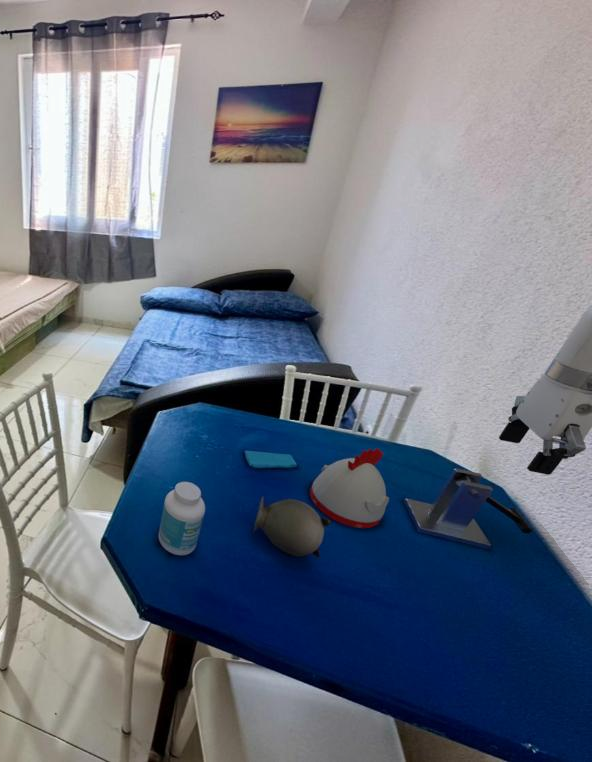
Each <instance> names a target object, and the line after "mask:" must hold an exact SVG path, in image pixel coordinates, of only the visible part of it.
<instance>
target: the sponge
mask: <svg viewBox="0 0 592 762" xmlns="http://www.w3.org/2000/svg"><path fill="white" fill-rule="evenodd" d="M244 457H245V459H246V461H247V464H248V465H249V467H251V468H254V469H275V468H276V469H290V468H291V469H292V468H296V467H297V466H298V464H297V462H296V460H295V459H294V457H293V455H292V454H288V453H282V454H281V453H275V452H267V451H266V452H263V451H254V450H244Z"/></svg>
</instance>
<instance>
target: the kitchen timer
mask: <svg viewBox="0 0 592 762" xmlns="http://www.w3.org/2000/svg"><path fill="white" fill-rule="evenodd" d="M384 455H385V453H383V452H382V451H381V449H379V447H376V448H375V449H374V450H373V449H371V448H369V449H368V450H366V449H363V451H362V452H361V454H360V456H359V455H358V454H356V455H355V457H349V458H344V459H339V460H336V461H335V462H333V463H331V464H329V465H327V464H324V466H323V467H322V468H321V472H320V473H319V474H318V476H317V477H315V479H314V481H313V482H312V484H311V487H310V489H309V490H310V491H309V496H310V498H311V499H310V500H311V501H312V503H313V504H314V506H315V507H317V509H318V510H320V511H321V512H322V513H323V514H324V515H326V516H327V517H329V519H332V520H334V521H336V522H338V523H340V524H342V525H346V526H349V527H351V528H359V529H368V528H373V527H376V526H377V525H379V524H380V522H381V520H382V518H383V517H384V514H385V512H386V508H387V506H388V504H389V501H390V497H389V496H387V490H386V489H387V488H386V484H385V481H384V479H383V476H382V475H381V473H380V471H379V470H378V468H377V467H376V466H375V465H376V464H377V463H378V462H379V461H380V460H381V459H382V458H383V456H384Z"/></svg>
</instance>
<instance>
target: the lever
mask: <svg viewBox="0 0 592 762" xmlns="http://www.w3.org/2000/svg"><path fill="white" fill-rule="evenodd" d="M463 481H466V482H471V483H476V484H479V483H478V482H476V481H475V480H473V479H472V478H470V477H469V476H467V475H465V476H463V477H462V478H460V479H458V480H456V481H455V482H456V484H457V485H458V487H460V485H461V484H462V482H463ZM485 502H486V503H487V504H489V505H490V506H492V507H494V508H495V509H496V510H498V511H499V512H501V513H502V514H503V515H505V516H506V517H507V518H509V519H510V520H512V521H513V522H514V524H515V525H516V526H517V528H518V530H520V531H521V533H522V534H532V532H533V529H532V527H531V526H530V524H528V522H527V521H526V520H525V519H524V517H523V516H522V515H521V513H520V512H519V511H518V509H516V508H515V507H509V508H507V507H506V506H505V505H503V504H501V503H500V502H499V501H498V500H496V499H495V498H494V497H492V496H490V495H489V497H488V498H487V499H486V501H485Z"/></svg>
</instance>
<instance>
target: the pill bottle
mask: <svg viewBox="0 0 592 762" xmlns="http://www.w3.org/2000/svg"><path fill="white" fill-rule="evenodd" d="M201 496H202V492H201V489H200V487H198V485H196V484H195V483H193V482H189V481H180V482H178V483H177V484H176V485H175V487H174V489H173V490H171V491H169V492H168V493H167V495H166V496H165V499H164V503H163V509H162V514H161V519H160V524H159V529H158V530H159V531H158V540H159V541H158V542H159V543H160V545H161V546H162V547H163V548H164V550H166V551H167V552H169V553H171V554H173V555H176V556H187V555H189V554H191V553H193V552H194V551H195V549H196V547H197V544H198V540H199V536H200V533H201V528H202V525H203V521H204V517H205V513H206V504H205V501H204V500H203V498H202V497H201Z"/></svg>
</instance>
